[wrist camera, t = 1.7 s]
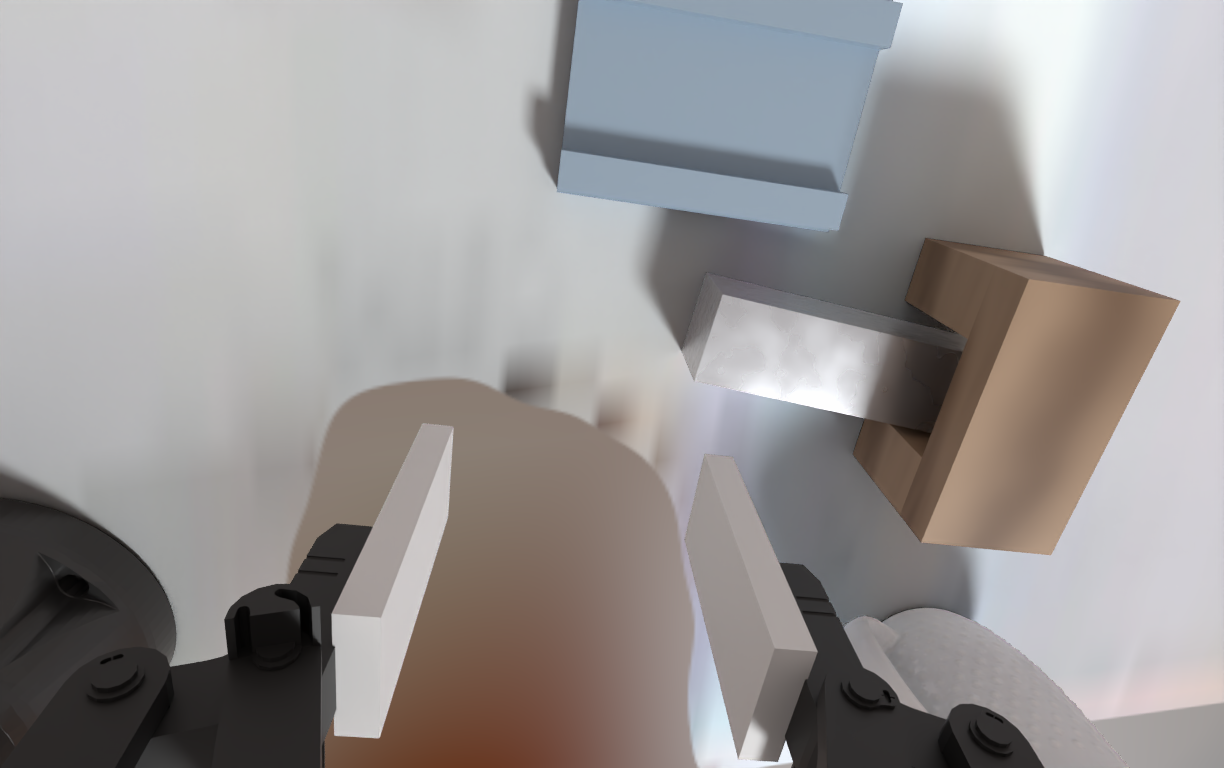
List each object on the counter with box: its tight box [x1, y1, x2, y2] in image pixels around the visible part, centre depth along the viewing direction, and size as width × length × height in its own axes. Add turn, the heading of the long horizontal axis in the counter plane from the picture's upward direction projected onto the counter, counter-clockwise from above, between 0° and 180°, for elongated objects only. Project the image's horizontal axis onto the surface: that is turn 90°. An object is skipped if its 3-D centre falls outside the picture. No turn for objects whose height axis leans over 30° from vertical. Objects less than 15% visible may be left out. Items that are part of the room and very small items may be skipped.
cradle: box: [557, 0, 903, 232], centre depth 26 cm, size 12×9×2 cm
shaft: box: [682, 272, 968, 433], centre depth 30 cm, size 15×4×4 cm, turn 76°
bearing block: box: [853, 238, 1180, 555], centre depth 29 cm, size 6×12×8 cm, turn 171°
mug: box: [844, 608, 1129, 768], centre depth 34 cm, size 15×11×13 cm
